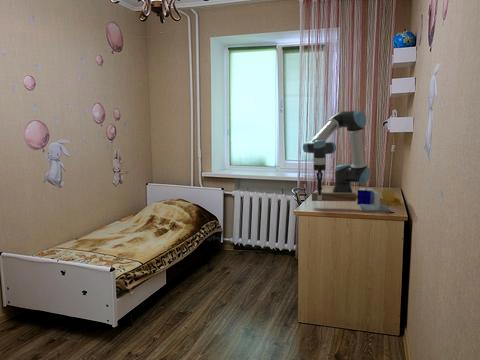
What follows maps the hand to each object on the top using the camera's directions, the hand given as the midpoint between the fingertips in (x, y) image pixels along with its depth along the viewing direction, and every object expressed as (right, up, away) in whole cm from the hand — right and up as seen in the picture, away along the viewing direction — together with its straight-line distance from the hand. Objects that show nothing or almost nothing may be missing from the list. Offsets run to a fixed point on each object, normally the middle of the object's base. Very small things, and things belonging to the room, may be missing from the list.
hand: (319, 199), depth 266 cm
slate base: (+34, -6, -8) cm, 35 cm away
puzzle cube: (+34, -4, +12) cm, 36 cm away
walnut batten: (+9, -1, -2) cm, 9 cm away
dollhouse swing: (+51, -4, +10) cm, 52 cm away
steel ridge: (+34, -5, -8) cm, 35 cm away
